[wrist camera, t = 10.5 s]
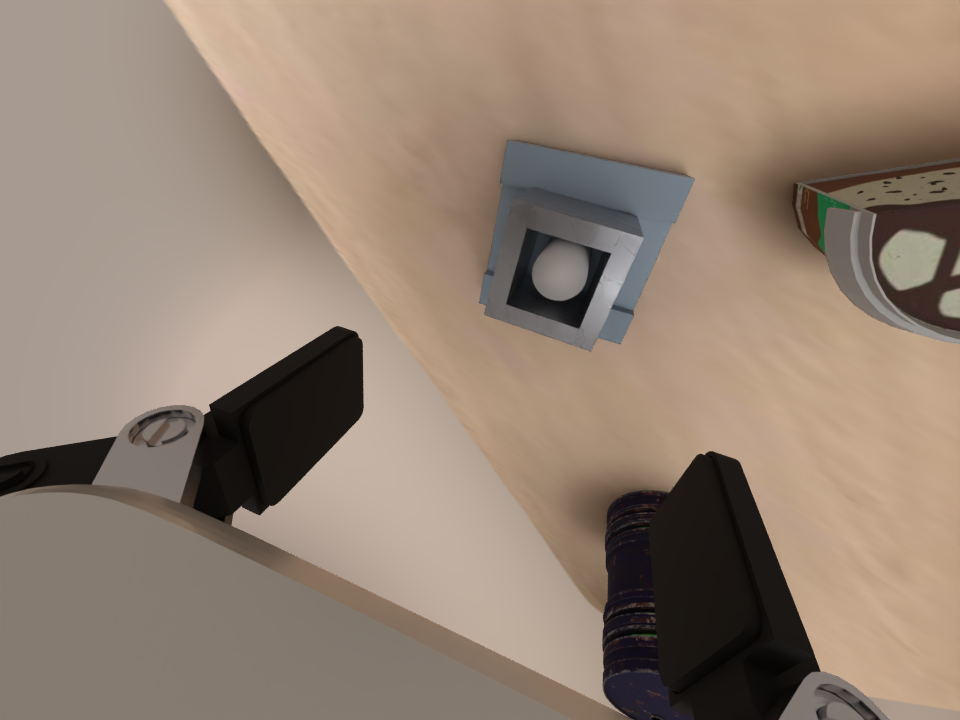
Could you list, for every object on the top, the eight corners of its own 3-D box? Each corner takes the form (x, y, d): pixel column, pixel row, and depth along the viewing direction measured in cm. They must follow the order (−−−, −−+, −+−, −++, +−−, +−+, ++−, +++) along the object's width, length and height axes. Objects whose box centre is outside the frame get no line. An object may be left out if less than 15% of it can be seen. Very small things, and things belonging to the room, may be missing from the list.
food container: (746, 287, 24) (813, 363, 16) (762, 187, 21) (853, 216, 13) (1018, 269, 20) (1305, 361, 11) (1085, 138, 17) (1529, 137, 9)
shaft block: (620, 330, 28) (621, 383, 22) (487, 292, 30) (454, 331, 24) (688, 175, 22) (716, 189, 16) (516, 140, 24) (481, 140, 18)
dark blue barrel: (627, 476, 35) (634, 653, 23) (733, 514, 33) (800, 727, 21) (592, 531, 41) (582, 697, 29) (681, 566, 39) (711, 758, 27)
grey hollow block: (595, 311, 26) (590, 351, 21) (508, 282, 26) (484, 314, 22) (637, 216, 22) (643, 237, 17) (534, 186, 23) (511, 199, 18)
